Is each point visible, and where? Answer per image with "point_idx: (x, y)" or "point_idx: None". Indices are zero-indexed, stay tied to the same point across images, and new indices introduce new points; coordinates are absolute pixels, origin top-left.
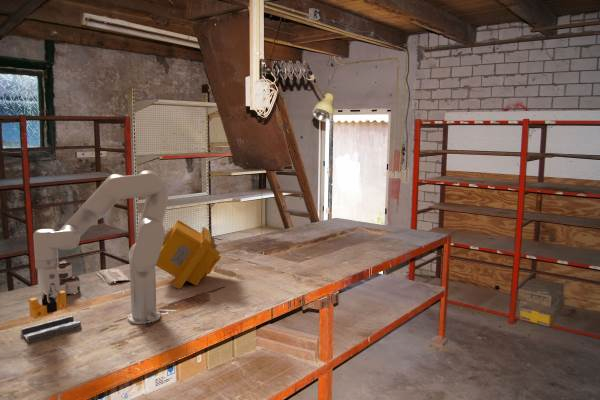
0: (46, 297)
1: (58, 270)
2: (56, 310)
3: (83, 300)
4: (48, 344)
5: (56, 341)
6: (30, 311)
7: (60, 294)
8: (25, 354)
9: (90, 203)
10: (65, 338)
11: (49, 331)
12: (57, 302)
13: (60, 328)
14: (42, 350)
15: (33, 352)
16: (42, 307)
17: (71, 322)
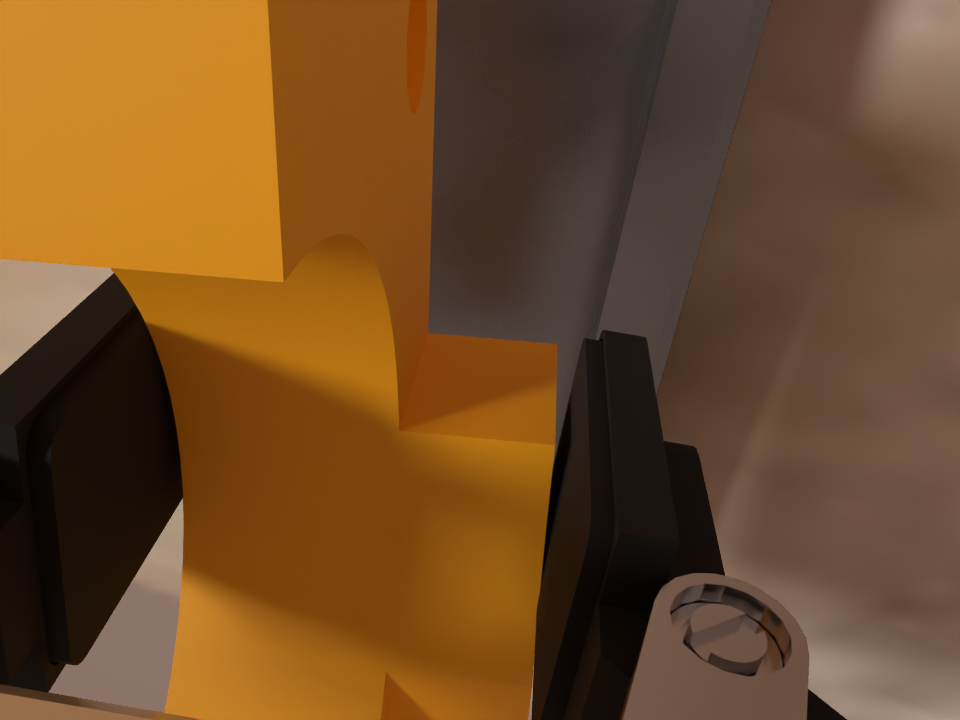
0: (24, 598)
1: None
2: (639, 349)
3: None
4: (866, 423)
5: (887, 312)
6: None
7: (287, 250)
8: (853, 674)
9: None
10: (930, 171)
11: (655, 344)
12: (386, 268)
13: (703, 161)
14: (956, 542)
15: (895, 615)
16: (473, 712)
17: None
